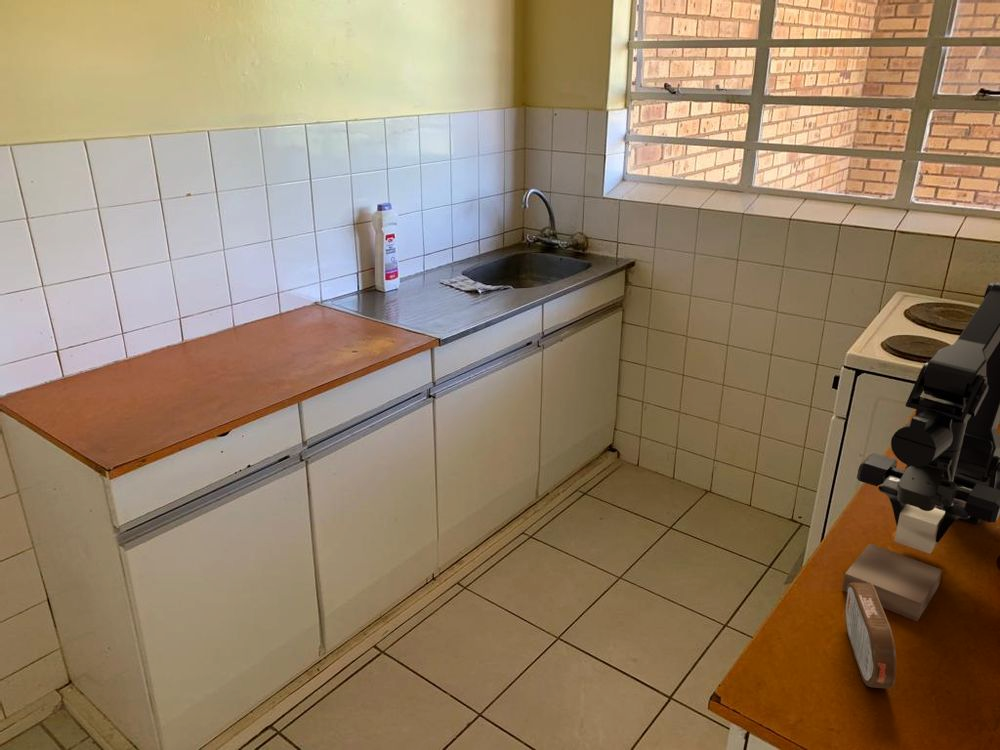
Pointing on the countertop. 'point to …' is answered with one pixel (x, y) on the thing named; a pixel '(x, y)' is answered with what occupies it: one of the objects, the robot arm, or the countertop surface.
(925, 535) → the block
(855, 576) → the base
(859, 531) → the countertop surface
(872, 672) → the tin
